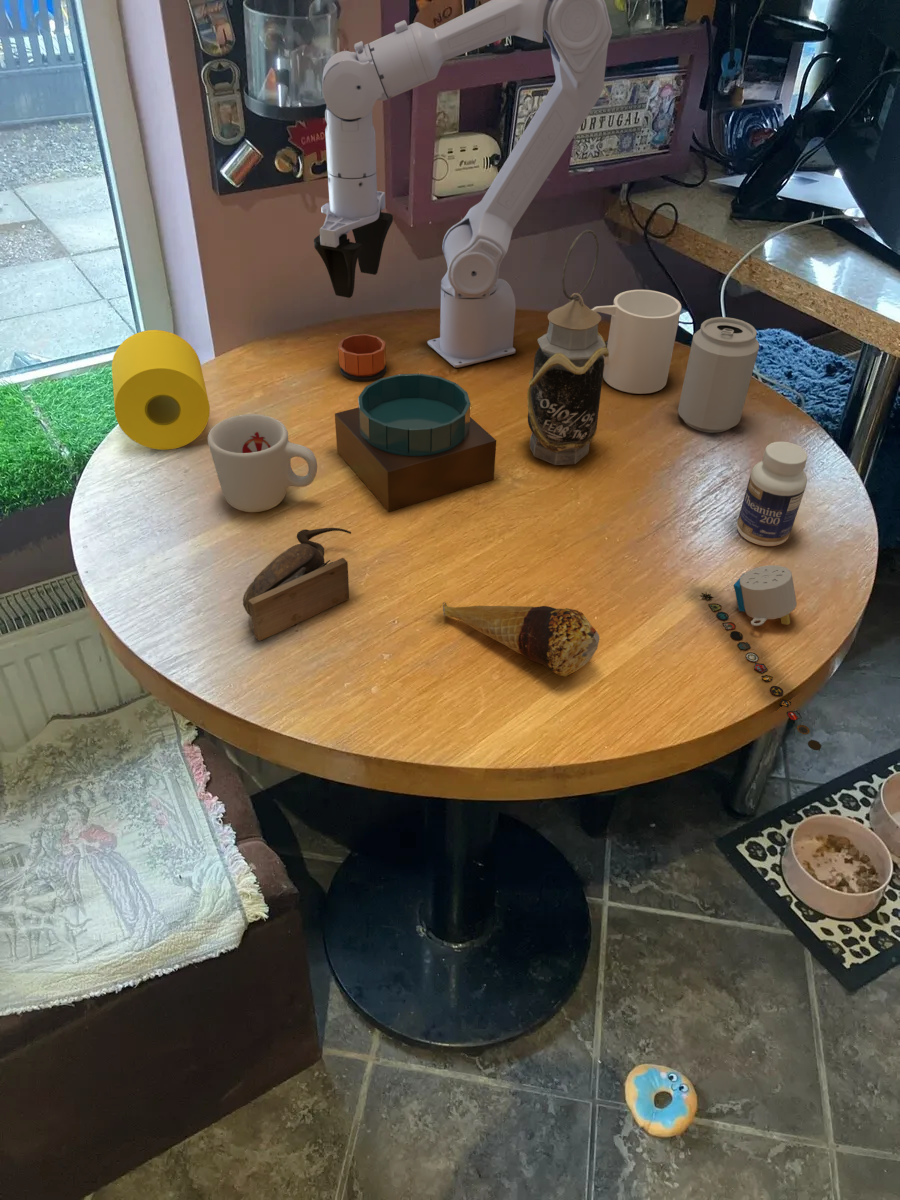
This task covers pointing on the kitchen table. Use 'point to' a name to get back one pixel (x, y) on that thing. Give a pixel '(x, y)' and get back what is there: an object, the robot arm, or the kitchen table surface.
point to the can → (718, 374)
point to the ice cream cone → (535, 633)
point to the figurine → (296, 586)
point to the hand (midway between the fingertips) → (356, 283)
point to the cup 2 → (640, 340)
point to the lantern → (567, 380)
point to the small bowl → (362, 355)
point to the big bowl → (414, 414)
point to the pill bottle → (773, 495)
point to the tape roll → (159, 390)
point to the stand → (415, 464)
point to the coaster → (367, 378)
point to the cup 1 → (256, 461)
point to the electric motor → (766, 594)
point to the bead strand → (761, 670)
